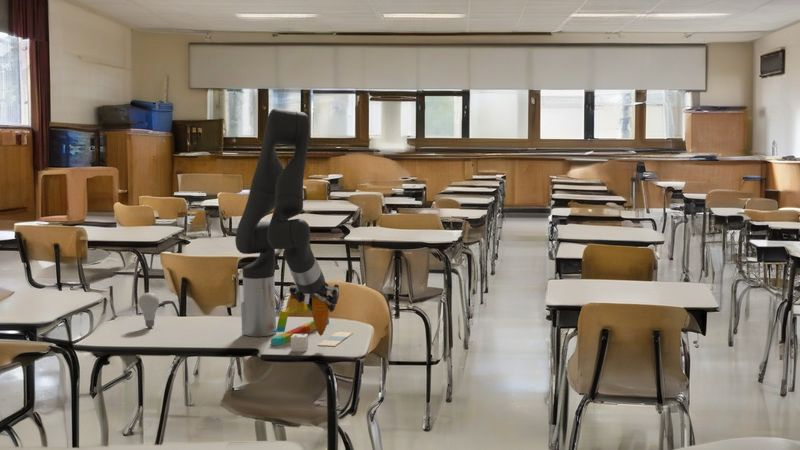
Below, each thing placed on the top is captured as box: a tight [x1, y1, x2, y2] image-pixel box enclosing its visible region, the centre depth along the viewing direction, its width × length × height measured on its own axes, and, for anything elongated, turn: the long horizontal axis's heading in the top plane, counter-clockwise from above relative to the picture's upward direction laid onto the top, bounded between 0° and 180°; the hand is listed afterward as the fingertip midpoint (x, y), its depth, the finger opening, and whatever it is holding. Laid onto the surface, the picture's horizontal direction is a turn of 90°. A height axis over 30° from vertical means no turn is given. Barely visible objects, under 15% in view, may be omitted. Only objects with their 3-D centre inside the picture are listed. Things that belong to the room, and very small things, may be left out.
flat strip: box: [317, 331, 354, 347], centre depth 268 cm, size 5×16×1 cm, turn 165°
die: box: [290, 333, 309, 352], centre depth 257 cm, size 4×4×4 cm
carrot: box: [311, 297, 330, 337], centre depth 256 cm, size 5×5×15 cm
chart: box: [270, 293, 330, 346], centre depth 276 cm, size 30×3×15 cm, turn 158°
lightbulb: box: [138, 292, 160, 329], centre depth 287 cm, size 6×6×11 cm
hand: (322, 308), depth 258 cm, fingers closed on carrot, 5 cm apart
